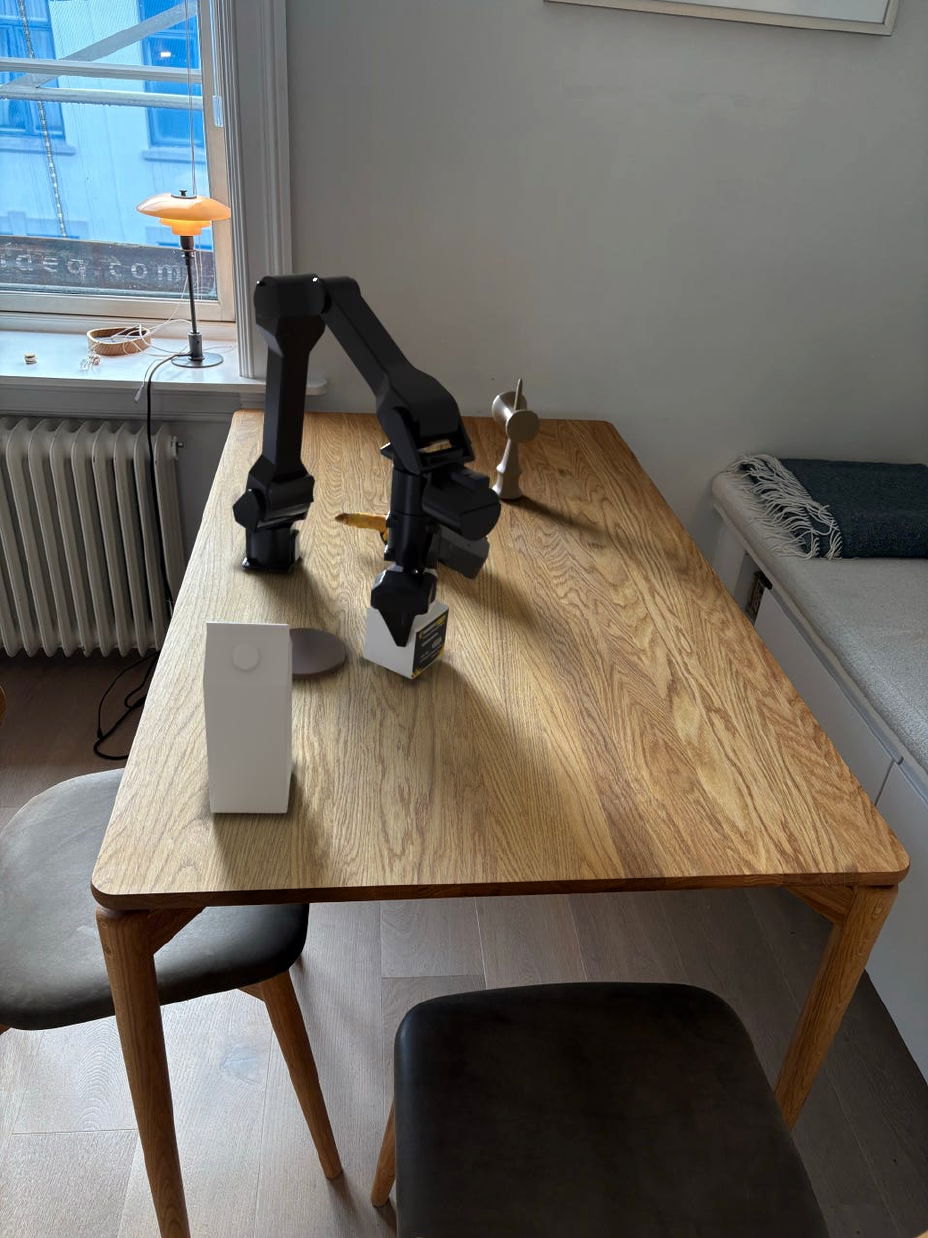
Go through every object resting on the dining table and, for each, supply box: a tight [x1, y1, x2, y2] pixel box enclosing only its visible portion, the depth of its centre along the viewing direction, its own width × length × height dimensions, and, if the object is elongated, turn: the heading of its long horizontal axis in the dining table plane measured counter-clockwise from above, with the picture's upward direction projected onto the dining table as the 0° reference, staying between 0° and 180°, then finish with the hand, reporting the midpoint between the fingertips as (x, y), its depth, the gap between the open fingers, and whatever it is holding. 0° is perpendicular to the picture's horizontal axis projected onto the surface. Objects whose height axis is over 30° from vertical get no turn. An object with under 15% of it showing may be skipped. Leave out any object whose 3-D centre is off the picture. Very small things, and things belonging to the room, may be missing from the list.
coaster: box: [289, 627, 346, 680], centre depth 113 cm, size 10×10×1 cm
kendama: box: [491, 378, 541, 500], centre depth 154 cm, size 6×10×20 cm, turn 12°
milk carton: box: [202, 620, 293, 814], centre depth 88 cm, size 7×7×19 cm
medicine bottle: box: [363, 563, 450, 680], centre depth 111 cm, size 7×7×12 cm
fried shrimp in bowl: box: [334, 510, 389, 548], centre depth 136 cm, size 9×11×18 cm
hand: (407, 625), depth 112 cm, fingers closed on medicine bottle, 9 cm apart
